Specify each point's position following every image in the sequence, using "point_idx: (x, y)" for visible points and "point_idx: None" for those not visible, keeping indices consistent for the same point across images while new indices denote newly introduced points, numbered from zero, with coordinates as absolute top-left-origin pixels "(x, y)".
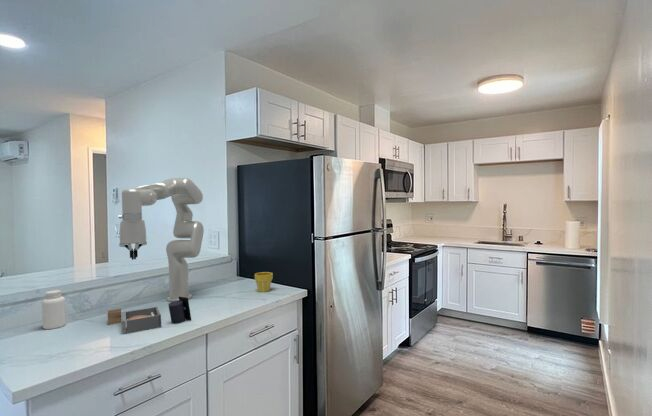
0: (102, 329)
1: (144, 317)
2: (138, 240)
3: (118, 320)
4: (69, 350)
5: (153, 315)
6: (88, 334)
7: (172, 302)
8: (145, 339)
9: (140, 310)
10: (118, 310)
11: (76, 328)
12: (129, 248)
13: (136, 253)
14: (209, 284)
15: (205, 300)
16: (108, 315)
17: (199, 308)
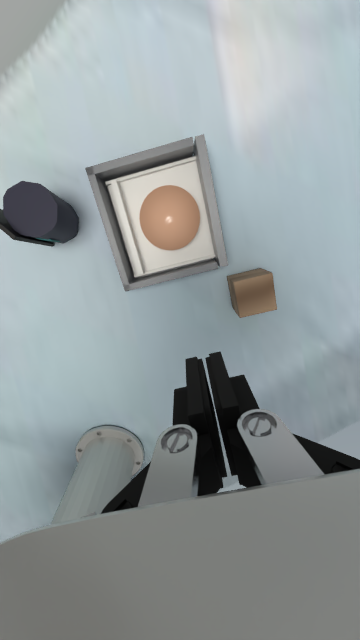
0: (268, 228)
1: (137, 159)
2: (89, 583)
3: (235, 275)
4: (328, 36)
5: (127, 232)
6: (299, 191)
7: (46, 225)
8: (119, 55)
9: (173, 272)
10: (243, 293)
11: (339, 268)
12: (277, 431)
13: (184, 408)
14: None
15: (30, 410)
16: (267, 272)
17: (27, 336)
